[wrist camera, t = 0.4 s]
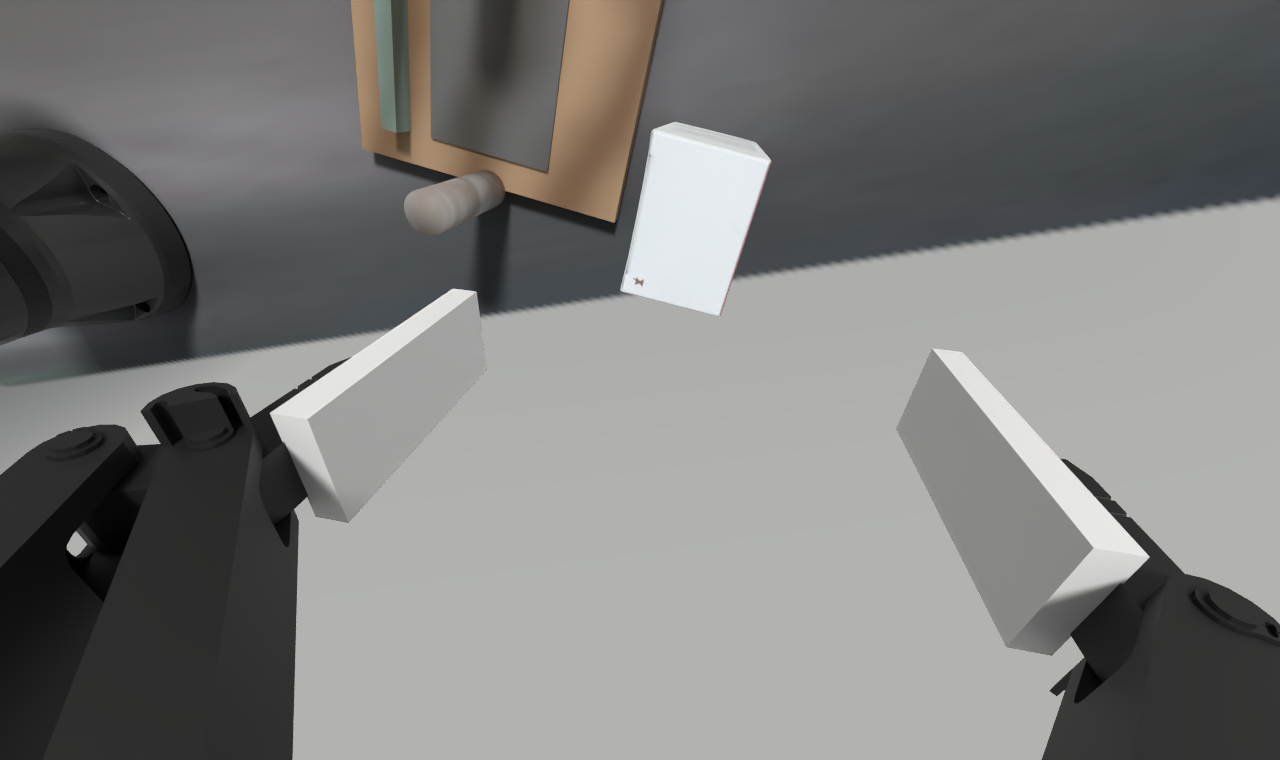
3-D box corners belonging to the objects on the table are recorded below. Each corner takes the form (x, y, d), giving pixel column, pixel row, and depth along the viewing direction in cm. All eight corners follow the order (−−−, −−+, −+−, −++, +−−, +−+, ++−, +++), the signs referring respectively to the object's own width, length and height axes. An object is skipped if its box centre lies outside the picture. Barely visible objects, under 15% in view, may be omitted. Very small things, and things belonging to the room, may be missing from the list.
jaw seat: (375, 168, 33) (270, 189, 26) (352, -168, 24) (180, -292, 17) (613, 238, 33) (580, 280, 26) (679, -72, 24) (659, -150, 17)
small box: (720, 262, 33) (720, 322, 24) (645, 242, 33) (617, 295, 24) (759, 140, 29) (775, 159, 20) (673, 118, 29) (651, 127, 20)
